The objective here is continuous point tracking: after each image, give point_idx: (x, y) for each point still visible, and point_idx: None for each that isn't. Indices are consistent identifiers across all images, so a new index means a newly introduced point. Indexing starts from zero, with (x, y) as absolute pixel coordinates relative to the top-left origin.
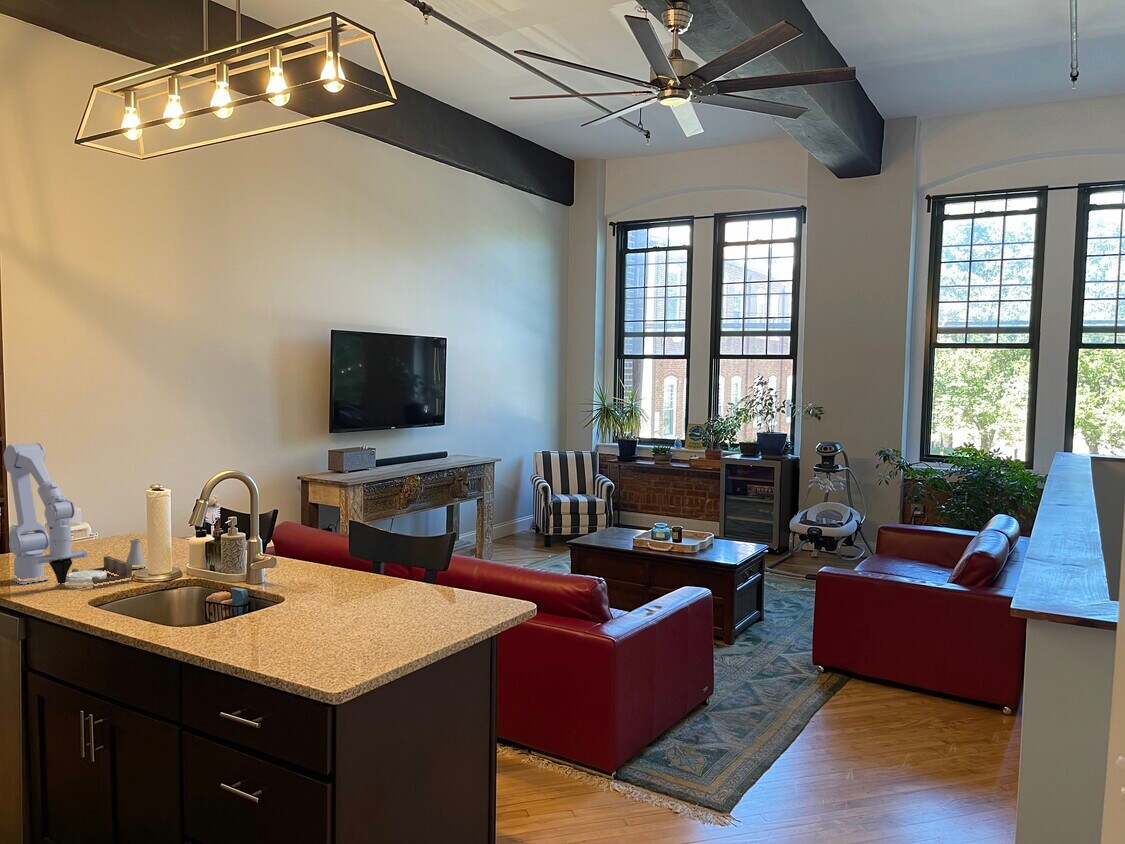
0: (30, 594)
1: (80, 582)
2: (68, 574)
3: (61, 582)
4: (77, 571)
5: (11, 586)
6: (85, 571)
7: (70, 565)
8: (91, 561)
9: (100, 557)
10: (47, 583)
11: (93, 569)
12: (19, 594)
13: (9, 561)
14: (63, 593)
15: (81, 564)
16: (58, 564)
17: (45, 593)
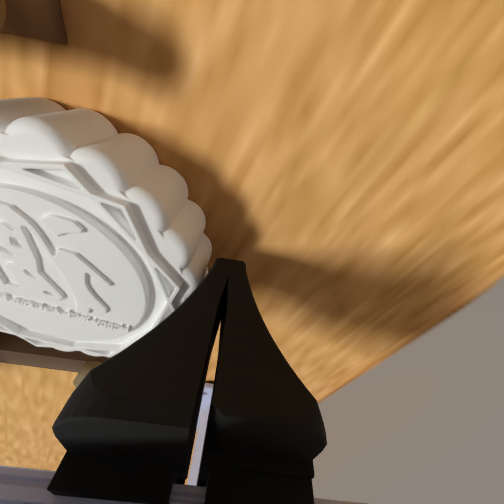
0: (403, 267)
1: (132, 159)
2: None
3: (237, 266)
4: (86, 366)
5: (316, 399)
6: (40, 326)
7: (123, 355)
8: (32, 438)
9: (7, 446)
10: None
11: (4, 355)
12: (416, 305)
13: None
14: (311, 104)
15: None
16: (286, 416)
17: (358, 221)
